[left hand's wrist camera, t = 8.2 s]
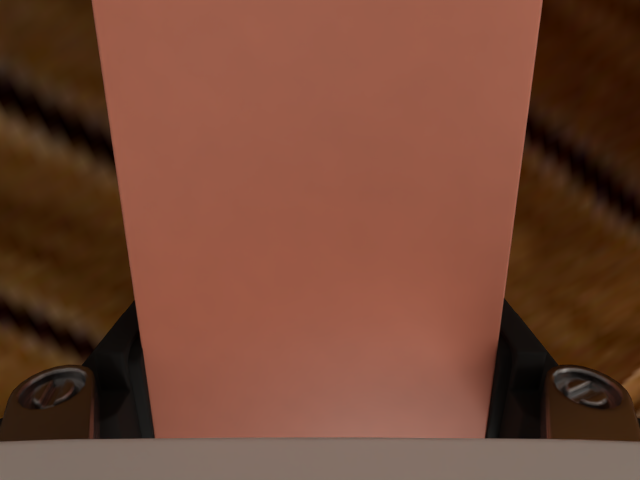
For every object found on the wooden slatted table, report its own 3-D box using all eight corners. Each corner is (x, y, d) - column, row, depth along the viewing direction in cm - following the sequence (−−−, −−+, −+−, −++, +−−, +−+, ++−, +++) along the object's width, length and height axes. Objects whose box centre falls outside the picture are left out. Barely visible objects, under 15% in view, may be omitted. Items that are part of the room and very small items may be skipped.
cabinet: (201, -282, 12) (-85, -1202, 4) (431, -283, 12) (702, -1207, 4) (242, 348, 18) (172, 574, 10) (398, 348, 18) (469, 572, 10)
